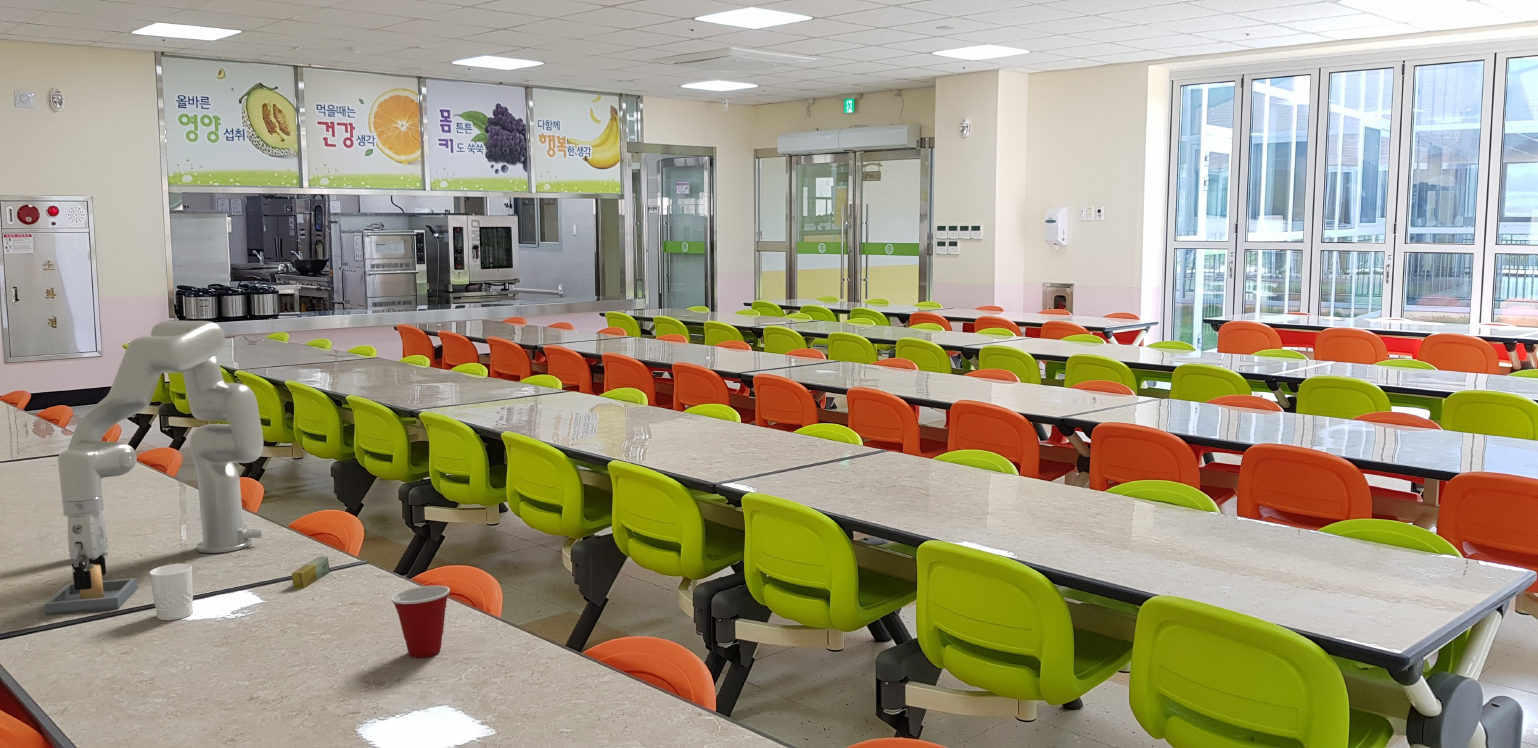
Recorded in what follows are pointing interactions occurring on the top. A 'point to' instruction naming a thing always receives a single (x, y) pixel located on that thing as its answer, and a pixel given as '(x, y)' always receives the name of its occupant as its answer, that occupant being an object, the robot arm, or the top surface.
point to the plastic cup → (422, 618)
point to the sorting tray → (72, 602)
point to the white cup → (172, 591)
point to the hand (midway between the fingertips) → (90, 582)
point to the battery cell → (94, 584)
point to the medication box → (310, 572)
